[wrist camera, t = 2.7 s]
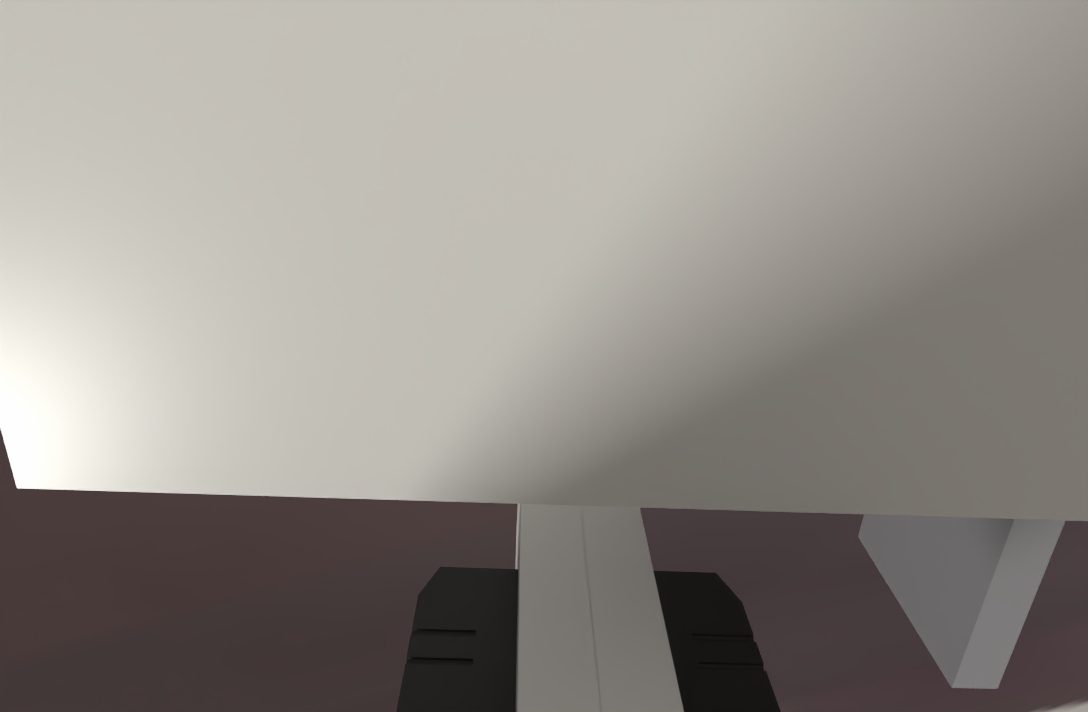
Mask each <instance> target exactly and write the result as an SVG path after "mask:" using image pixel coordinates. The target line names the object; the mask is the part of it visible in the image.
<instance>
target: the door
mask: <svg viewBox="0 0 1088 712" xmlns="http://www.w3.org/2000/svg"><path fill="white" fill-rule="evenodd" d="M1064 523H1065V520H1035V519H1003V518H970V517H938V516H905V515H872V514H864V517H863V521H862V524H861V528H860V532H859V535H858V537H859V539H860V541H861V542H862V544H863V545H864V547H865V549H866V550H867V552H868V553H869V555H870V557H871V558H872V560H873V562H874V563H875V565H876V566H877V568H878V570H879V571H880V573H881V574H882V576H883V578H884V579H885V581H886V582H887V584H888V586H889V587H890V589H891V591H892V592H893V594H894V595H895V597H896V599H897V600H898V602H899V603H900V605H901V607H902V608H903V610H904V611H905V613H906V615H907V616H908V618H909V620H910V621H911V623H912V624H913V626H914V628H915V629H916V631H917V632H918V634H919V636H920V637H921V639H922V641H923V642H924V644H925V645H926V647H927V649H928V650H929V652H930V653H931V655H932V657H933V658H934V660H935V661H936V663H937V665H938V666H939V668H940V670H941V671H942V673H943V674H944V676H945V678H946V679H947V681H948V682H949V684H950V686H951V687H952V688H985V689H997V688H998V686H999V683H1000V681H1001V679H1002V676H1003V674H1004V671H1005V669H1006V666H1007V664H1008V661H1009V659H1010V656H1011V654H1012V651H1013V649H1014V646H1015V644H1016V641H1017V639H1018V637H1019V634H1020V632H1021V629H1022V627H1023V624H1024V622H1025V619H1026V617H1027V614H1028V612H1029V609H1030V607H1031V604H1032V602H1033V599H1034V597H1035V595H1036V592H1037V590H1038V587H1039V585H1040V582H1041V580H1042V577H1043V575H1044V572H1045V570H1046V567H1047V565H1048V562H1049V560H1050V557H1051V555H1052V552H1053V550H1054V548H1055V545H1056V543H1057V540H1058V538H1059V535H1060V533H1061V530H1062V528H1063V525H1064Z"/></svg>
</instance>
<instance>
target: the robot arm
mask: <svg viewBox="0 0 1088 712" xmlns="http://www.w3.org/2000/svg"><path fill="white" fill-rule="evenodd" d="M753 636H754V635H753V632H752V630H751V627H750V624H749V621H748V618H747V615H746V613H745V610H744V607H743V604H742V602H741V601H740V599H739V598H738V597H737V596H736V595H735V594H734V593H733V592H732V591H731V589H730V588H729V587H728V586H727V585H726V584H725V583H724V582H723V581H722V579H721V578H720V577H719V576H718V575H717V574H716V573H701V572H669V571H653V567H652V562H651V558H650V553H649V548H648V544H647V539H646V535H645V530H644V525H643V521H642V516H641V512H640V507H612V506H579V505H546V504H518V510H517V531H516V569H489V568H456V567H440V568H439V569H438V570H437V572H436V573H435V574H434V576H433V577H432V578H431V579H430V581H429V582H428V583H427V585H426V586H425V587H424V588H423V590H422V591H421V592H420V594H419V595H418V600H417V605H416V611H415V616H414V621H413V627H412V635H411V637H410V643H409V648H408V654H407V663H406V664H405V670H404V675H403V680H402V686H401V691H400V696H399V702H398V707H397V712H780V709H779V706H778V703H777V701H776V698H775V695H774V692H773V689H772V686H771V683H770V681H769V678H768V675H767V672H766V671H764V669H763V661H762V658H761V655H760V652H759V649H758V647H757V644H756V642H754V640H753Z"/></svg>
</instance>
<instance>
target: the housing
mask: <svg viewBox="0 0 1088 712" xmlns="http://www.w3.org/2000/svg"><path fill="white" fill-rule="evenodd" d="M0 428H1V432H2V435H3V439H4V443H5V446H6V450H7V453H8V457H9V461H10V464H11V468H12V472H13V475H14V479H15V483H16V486H17V488H25V489H57V490H90V491H123V492H155V493H188V494H220V495H253V496H286V497H318V498H351V499H383V500H416V501H449V502H481V503H514V504H546V505H579V506H612V507H644V508H677V509H709V510H742V511H775V512H807V513H840V514H872V515H905V516H938V517H970V518H1003V519H1035V520H1068V521H1088V0H0Z"/></svg>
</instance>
